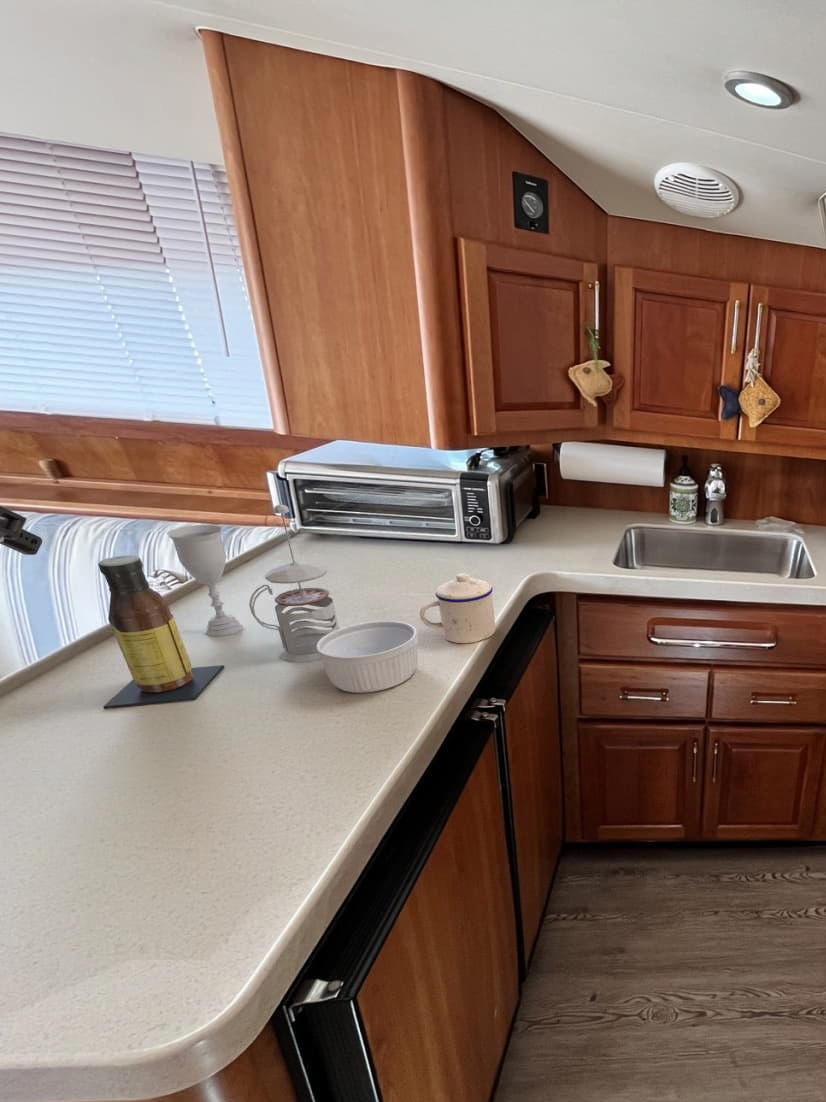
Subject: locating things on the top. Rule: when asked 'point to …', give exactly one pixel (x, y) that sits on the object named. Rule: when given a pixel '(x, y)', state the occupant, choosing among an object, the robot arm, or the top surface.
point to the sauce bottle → (144, 628)
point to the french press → (303, 639)
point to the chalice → (205, 568)
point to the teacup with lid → (463, 610)
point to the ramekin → (369, 655)
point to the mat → (184, 693)
